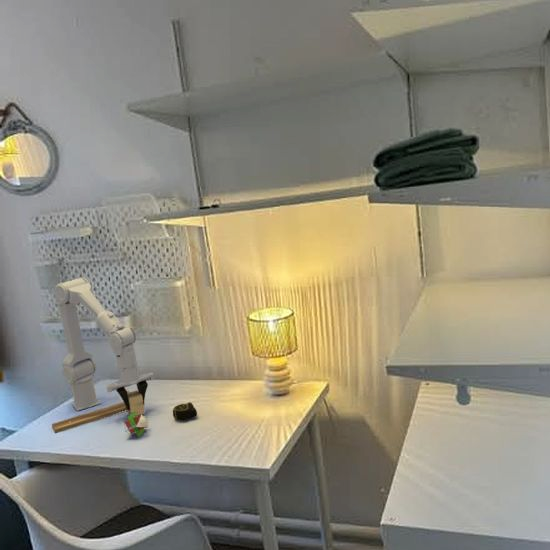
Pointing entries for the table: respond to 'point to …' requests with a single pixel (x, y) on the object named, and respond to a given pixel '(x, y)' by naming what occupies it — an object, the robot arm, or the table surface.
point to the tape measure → (184, 412)
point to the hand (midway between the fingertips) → (135, 406)
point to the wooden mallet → (135, 402)
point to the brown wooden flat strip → (88, 417)
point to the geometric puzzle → (136, 424)
